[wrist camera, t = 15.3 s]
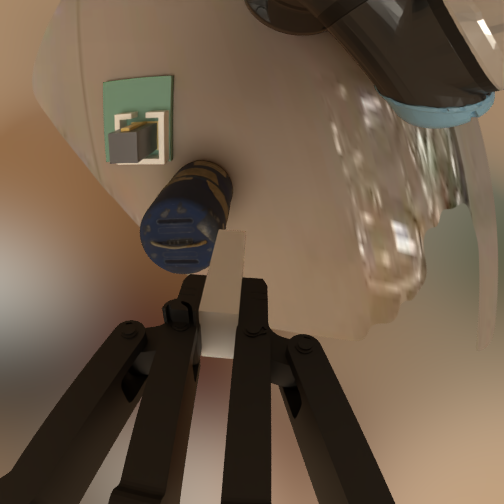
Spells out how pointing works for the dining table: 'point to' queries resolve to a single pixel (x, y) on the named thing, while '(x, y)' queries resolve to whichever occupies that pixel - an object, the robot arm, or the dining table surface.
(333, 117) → the dining table surface
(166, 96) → the board
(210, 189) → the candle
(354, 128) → the dining table surface
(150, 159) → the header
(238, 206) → the dining table surface
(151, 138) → the plug
